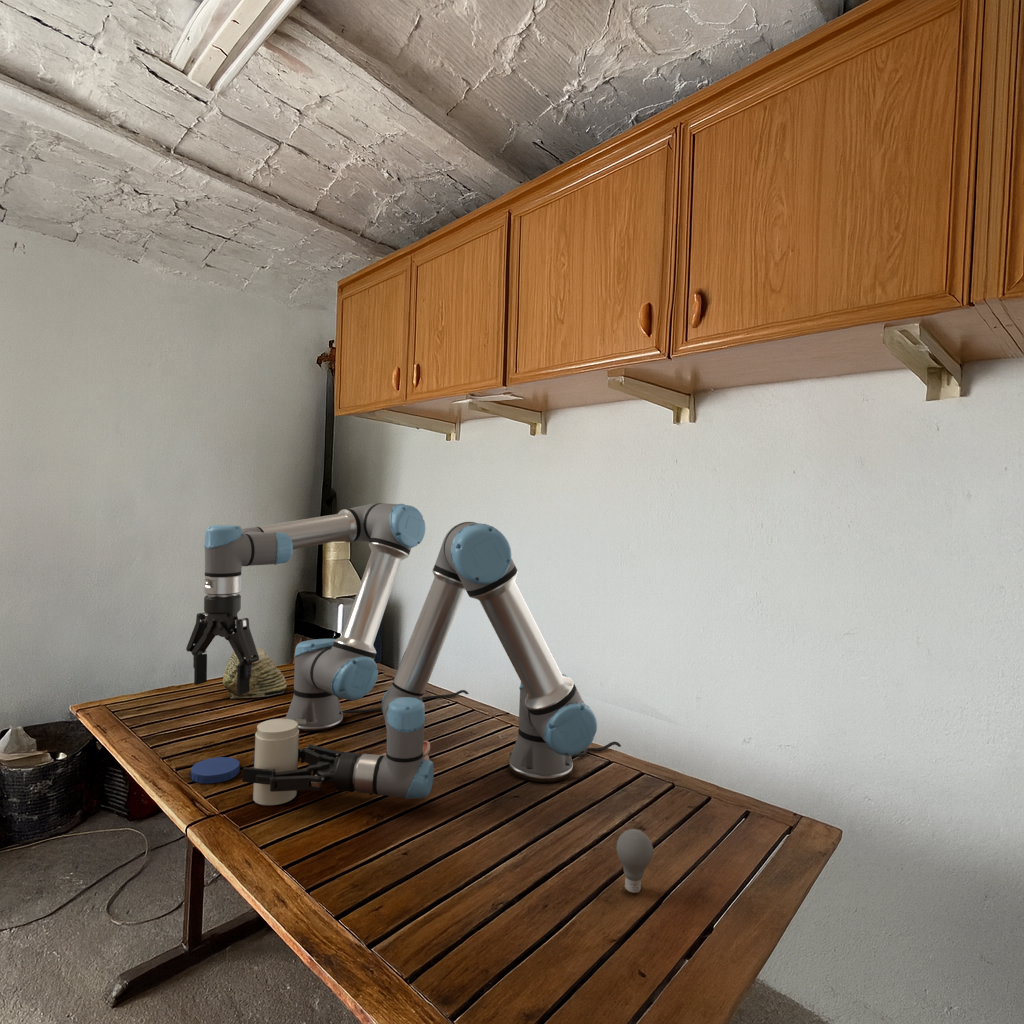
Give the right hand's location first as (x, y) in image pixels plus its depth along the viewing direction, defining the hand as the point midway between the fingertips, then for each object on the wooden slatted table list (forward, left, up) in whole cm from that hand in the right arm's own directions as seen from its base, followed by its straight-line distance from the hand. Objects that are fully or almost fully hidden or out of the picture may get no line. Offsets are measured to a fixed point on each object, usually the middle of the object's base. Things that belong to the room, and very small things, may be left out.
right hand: (257, 763), depth 134 cm
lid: (+9, -12, -5) cm, 16 cm away
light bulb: (-62, +50, -7) cm, 80 cm away
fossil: (+5, -69, -7) cm, 70 cm away
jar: (-4, +2, -7) cm, 8 cm away
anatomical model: (-32, -9, -7) cm, 34 cm away
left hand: (+9, -12, +13) cm, 20 cm away
